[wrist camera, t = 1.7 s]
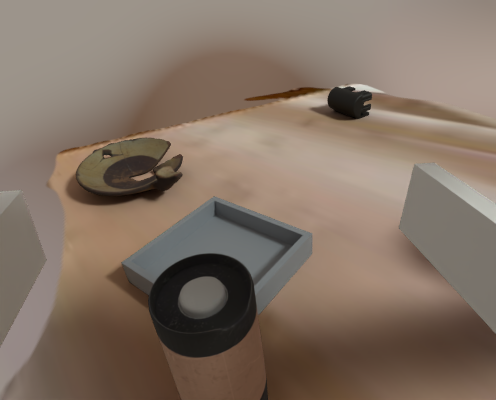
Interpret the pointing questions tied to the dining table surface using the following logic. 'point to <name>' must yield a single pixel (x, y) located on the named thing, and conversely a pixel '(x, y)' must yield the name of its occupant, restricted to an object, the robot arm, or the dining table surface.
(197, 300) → the travel mug
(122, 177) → the oil lamp
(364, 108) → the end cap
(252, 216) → the parts tray
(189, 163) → the dining table surface
